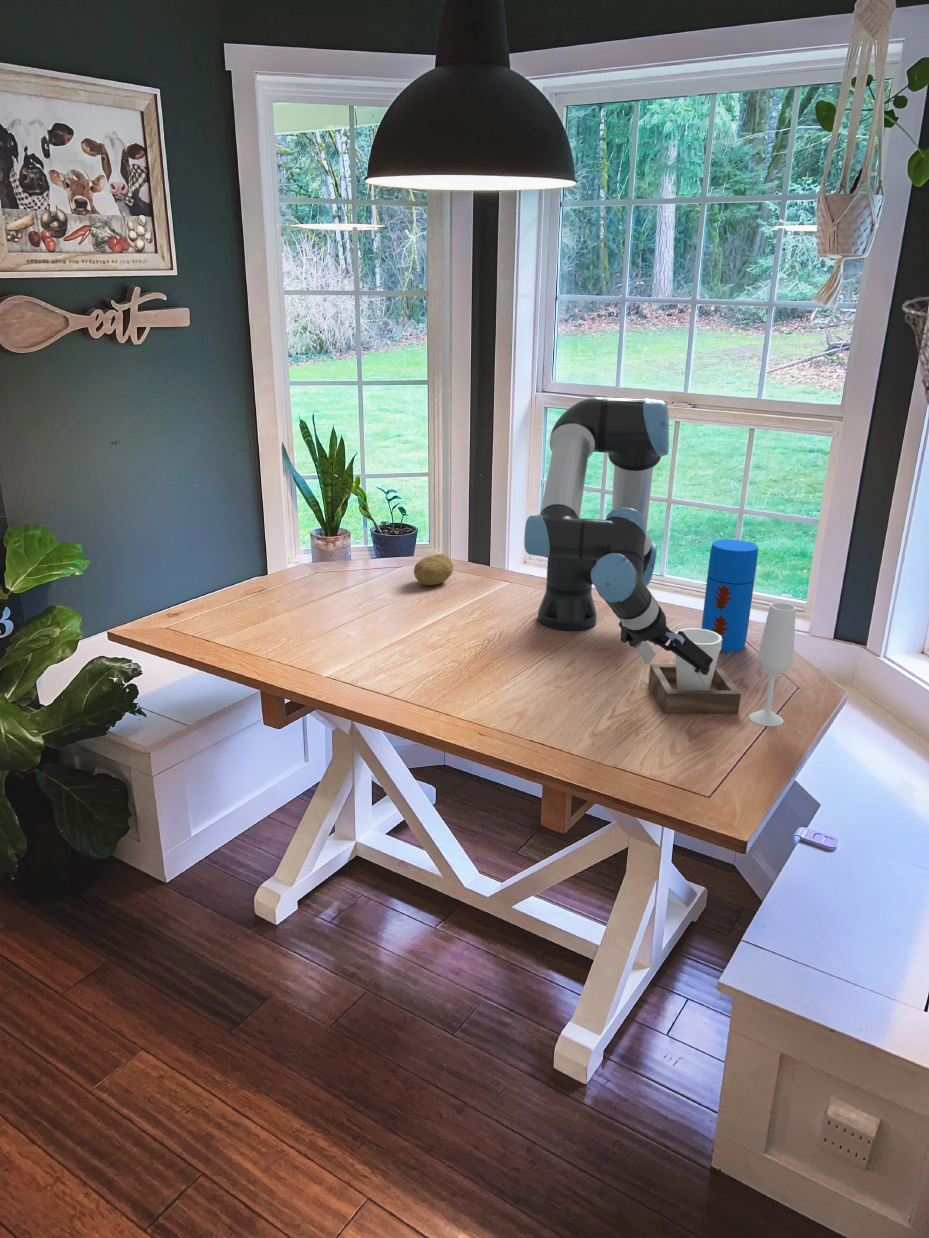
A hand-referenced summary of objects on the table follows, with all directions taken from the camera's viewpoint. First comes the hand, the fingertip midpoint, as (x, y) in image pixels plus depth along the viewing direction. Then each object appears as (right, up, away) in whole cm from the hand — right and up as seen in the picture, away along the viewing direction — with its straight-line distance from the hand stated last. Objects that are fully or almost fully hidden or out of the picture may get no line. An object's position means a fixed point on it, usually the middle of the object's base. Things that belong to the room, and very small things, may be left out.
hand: (678, 668), depth 181 cm
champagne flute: (+17, -10, -1) cm, 20 cm away
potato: (-53, +20, +78) cm, 96 cm away
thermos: (+20, +4, +37) cm, 42 cm away
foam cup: (+5, -6, +7) cm, 10 cm away
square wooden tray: (+5, -7, +8) cm, 11 cm away
